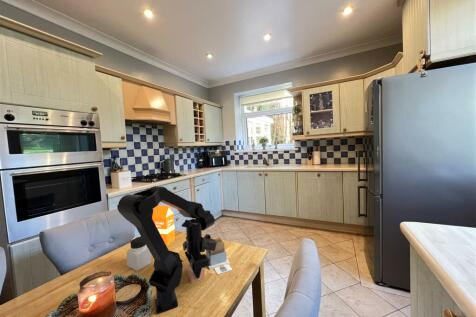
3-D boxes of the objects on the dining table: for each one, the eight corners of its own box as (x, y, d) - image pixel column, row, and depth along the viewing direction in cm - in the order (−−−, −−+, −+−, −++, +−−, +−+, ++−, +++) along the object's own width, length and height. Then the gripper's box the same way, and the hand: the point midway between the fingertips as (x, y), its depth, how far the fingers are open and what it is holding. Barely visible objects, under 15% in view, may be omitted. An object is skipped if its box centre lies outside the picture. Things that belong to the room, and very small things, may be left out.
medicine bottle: (152, 262, 90) (150, 236, 90) (137, 271, 84) (135, 243, 84) (142, 258, 94) (140, 233, 94) (127, 266, 88) (125, 239, 87)
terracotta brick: (204, 278, 78) (204, 268, 78) (191, 282, 75) (191, 272, 75) (200, 271, 82) (200, 261, 82) (188, 275, 80) (187, 265, 80)
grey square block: (229, 263, 87) (229, 252, 87) (209, 269, 83) (209, 258, 83) (222, 254, 95) (221, 244, 95) (203, 259, 91) (203, 248, 91)
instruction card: (232, 269, 82) (232, 268, 82) (217, 274, 80) (217, 273, 80) (228, 264, 86) (228, 263, 86) (214, 268, 84) (214, 267, 84)
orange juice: (167, 245, 107) (165, 207, 106) (152, 244, 109) (150, 207, 108) (175, 238, 114) (173, 203, 113) (161, 237, 116) (159, 203, 115)
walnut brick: (224, 252, 87) (224, 243, 87) (211, 255, 85) (210, 246, 85) (220, 246, 93) (219, 237, 93) (207, 249, 90) (206, 240, 90)
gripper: (222, 239, 73) (224, 281, 74) (207, 223, 90) (208, 257, 91) (191, 247, 68) (194, 291, 69) (181, 228, 85) (183, 264, 86)
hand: (196, 274), depth 79 cm, fingers closed on terracotta brick, 5 cm apart
